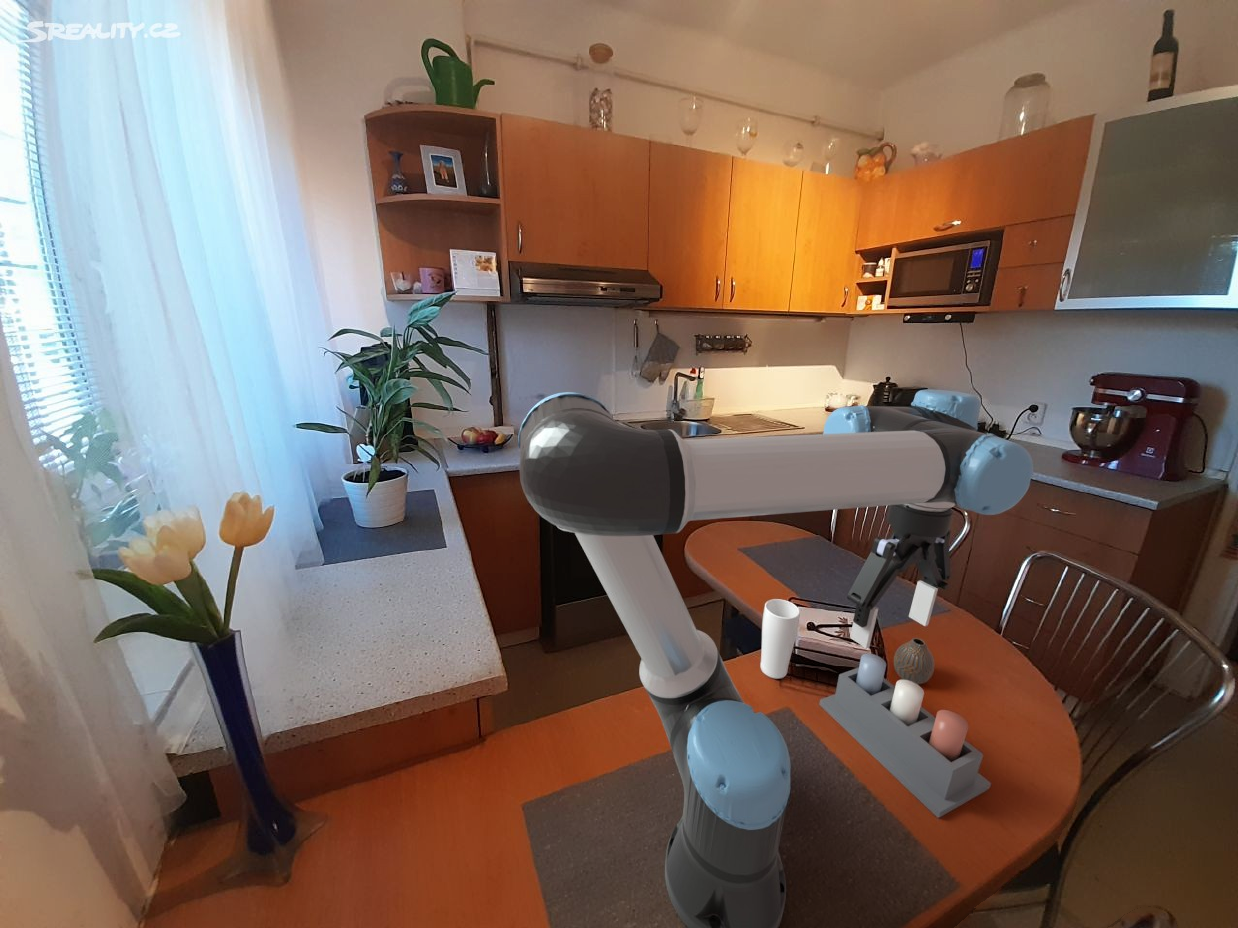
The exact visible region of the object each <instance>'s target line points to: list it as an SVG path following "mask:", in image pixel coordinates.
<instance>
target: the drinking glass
mask: <svg viewBox="0 0 1238 928" xmlns="http://www.w3.org/2000/svg"><path fill="white" fill-rule="evenodd" d="M800 614H801V610H800V608H799V607H798V605H796V604H794V603H792V602H791V601H788V600H785V599H779V598H773V599H769V600H767V601H766V602H765V603H764V608H763V614H762V621H761V651H760V652H761V654H760V655H761V656H760V664H759V665H760V666H759V667H760V670H761V672H762V673H763V674H764V675H765V676H767V677H769V678H771V679H776V680H778V679H780V680H781V679H783V678H784V677H785V676H787V674H788V669H789V664H790V660H791V656H792V653H793V649H794V646H795V642H796V639H797V634H798V630H799V624H800Z"/></svg>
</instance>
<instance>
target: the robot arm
mask: <svg viewBox="0 0 1238 928" xmlns="http://www.w3.org/2000/svg"><path fill="white" fill-rule="evenodd" d="M981 406H982V402H981V400H980V398H978V396H976V395H974V394H972V393H966V392H961V391H956V390H955V391H954V390H948V389H947V390H944V389H932V388H931V389H930V388H929V389H921V390H918V391H917V392H916V393H915V395H914V399H913V401H912V402H911V403H910V405H909V406H886V405H885V406H880V405H879V406H878V405H876V406H875V405H873V406H872V405H864V404H858V405H854V406H853V405H851V406H842V407H838V408H837V409H835V410H833V411H832V412H831V413H830V414H829V416H828V417H827V418H826V420H825V422H824V426H823V428H824V429H823V433H822V434H821V433H820V434H817V433H816V434H797V435H795V434H793V435H792V434H791V435H769V436H745V437H743V436H741V437H720V438H716V437H715V438H699V439H698V438H697V439H696V438H695V439H683V438H682V437H681V436H680V435H679V434H678V433H677V432H676V431H675V430H674V429H642V428H634V427H631V426H627V425H622V424H619V423H618V422H617V421H616V419H614V418H613V416H612V414H611V413H610V411H609V410H608V409H607V408H606V406H605V405H604V404H603V403H602V402H600V401H599V400H598V399H596V398H594V397H592V396H590V395H588V394H587V395H586V394H584V393H580V392H579V393H578V392H574V391H566V392H558V393H554V394H551V395H549V396H546V397H544V398H543V399H541V400H540V401H539V402H537V403H536V404H535V405H534V406H533V407H532V408H531V409H530V410H529V411H528V413H527V415H526V417H524V419H523V421H522V423H521V425H520V427H519V432H518V436H517V438H518V439H517V442H518V443H517V444H518V451H519V454H520V455H519V457H520V458H519V479H520V484H521V488H522V491H523V494H524V495H525V498H526V499H527V502H528V503H529V504H530V505H531V507H532V508H533V509H534V511H535V512H536V513H537V514H538V515H539V516H540V517H541V518H543V519H544V520H546V521H547V522H548V523H550V524H552V525H553V526H556V527H557V528H558V530H561V531H563V532H569V533H573V534H574V535H575V536H576V538H577V541H578V543H579V544H580V546H581V547H582V550H583V551H584V553H585V555H586V557H587V559H588V561H589V563H590V565H591V566H592V569H593V570H594V572H595V574H596V576H597V578H598V580H599V582H600V583H601V585H602V587H603V589H604V591H605V592H606V595H607V597H608V598H609V600H610V602H611V604H612V606H613V608H614V610H615V611H616V614H617V615H618V617H619V619H620V621H621V623H622V624H623V626H624V628H625V630H626V633H627V634H628V635H629V638H630V639H631V641H632V644H633V645H634V647H635V650H636V651H637V653H638V655H639V656H640V658H641V660H640V664H639V668H638V669H639V670H638V671H639V673H638V674H639V678H640V679H639V680H640V681H641V683H642V686H643V687H644V690H645V691H646V693H647V694H648V697H649V698H650V700H651V702H652V705H654V707H655V710H656V712H657V714H658V716H659V718H660V720H661V724H662V726H663V729H664V732H665V733H666V737H667V740H668V743H669V746H670V749H671V752H672V755H673V757H674V761H675V764H676V767H677V769H678V773H679V775H680V778H681V781H682V785H683V790H684V791H683V792H684V795H683V796H684V797H683V798H684V799H683V811H682V816H681V818H680V819H679V821H678V823H677V824H676V826H675V828H674V829H673V831H672V832H671V835H670V837H669V839H668V843H667V847H666V852H665V859H664V860H665V861H664V879H665V886H666V890H667V893H668V897H669V899H670V902H671V904H672V906H673V908H674V910H675V912H676V914H677V915H678V917H679V919H680V920H681V921H682V923H683V924H684V926H685V927H687V928H779V926H780V924H781V921H782V918H783V913H784V911H785V910H784V909H785V906H786V905H785V904H786V897H787V881H786V874H785V870H784V867H783V862H782V859H781V855H780V851H779V846H780V840H781V835H782V831H783V830H782V829H783V825H784V820H785V815H786V811H787V810H786V809H787V804H788V800H789V798H790V793H791V787H792V786H791V781H792V780H791V758H790V754H789V753H790V752H789V749H788V745H787V743H786V741H785V739H784V737H783V735H782V733H781V732H780V731H781V730H779V728H778V727H777V726H776V725H775V724H774V722H773V721H772V720H771V719H770V718H769V717H768V716H767V715H766V714H765V713H763V712H761V711H759V712H756V711H754V708H753V706H751V705H749V704H747V703H745V701H744V700H743V698H742V695H740V693H739V691H738V689H737V687H736V686H735V684H734V681H732V678H731V676H730V674H729V672H728V670H727V668H726V665H725V663H724V661H723V659H722V657H721V655H720V652H719V650H718V648H717V646H716V645H717V644H716V643H715V641H714V640H713V639H712V637H710V635H708V634H707V633H705V632H704V631H701V630H699V629H697V628H696V625H695V623H694V621H693V619H692V617H691V615H690V613H689V610H688V608H687V606H686V604H685V602H684V599H683V597H682V595H681V593H680V591H679V588H678V586H677V584H676V582H675V580H674V578H673V576H672V573H671V572H670V569H669V567H668V565H667V563H666V561H665V558H664V556H663V554H662V552H661V550H660V548H659V546H658V544H657V541H656V539H655V537H654V536H656V535H658V536H659V535H669V534H679V533H680V532H681V531H682V530H683V528H684V527H685V526H686V525H687V524H688V522H690V521H704V520H717V519H729V518H742V517H757V516H767V515H781V514H782V515H783V514H794V513H806V512H818V511H819V512H820V511H831V510H832V511H833V510H847V509H859V508H871V507H872V508H873V507H882V506H883V507H885V506H889V507H888V511H887V515H886V521H887V522H888V524H889V525H890V526H891V529H892V532H891V535H890V536H889V538H888V539H884V538H882V537H880V536H877V537H875V538H874V540H873V543H872V547H871V550H870V553H869V555H868V556H867V558H866V560H865V562H864V564H863V565H862V567H861V569H860V571H859V573H858V575H857V576H856V579H855V580H854V582H853V583H852V586H851V587H850V589H849V592H848V593H847V595H846V599H847V600H848V601H850V602H851V603H853V604H854V605H855V611H854V616H853V621H852V627H851V632H850V636H849V638H850V639H852V640H853V641H854V642H856V643H858V644H859V645H860V646H861V647H863V648H864V649H869V648H870V646H871V642H872V638H873V633H874V629H875V625H876V620H877V617H878V611H879V607H877V606H876V605H877V604H878V603H879V602H880V600H881V599H882V597H883V596H884V594H885V593H886V592H887V590H888V589H889V588H890V586H891V585H892V584H893V583H894V581H895V580H896V578H898V575H899V574H900V573H905V572H906V571H907V569H908V568H909V567H910V566H912V565H914V564H915V565H916V567H917V569H918V571H919V573H920V576H921V579H922V580H921V579H920V580H917V584H916V586H915V590H914V595H913V598H912V603H911V606H910V610H909V614H908V617H909V618H910V619H912V620H913V621H915V622H917V623H919V624H920V625H922V626H924V627H927V626H928V625H929V623H930V620H931V615H932V612H933V608H934V604H935V601H936V597H937V594H938V590H939V589H941V590H943V591H945V590H946V589H947V587H948V586H949V585H948V583H947V582H949V581H950V580H951V578H952V577H951V576H952V573H951V560H950V559H951V556H950V544H949V542H950V538H951V534H952V533H951V532H952V531H951V530H950V526H951V523H952V519H953V515H954V511H953V510H952V508H953V507H955V505H957V507H959V508H961V509H963V510H966V511H971V512H974V513H976V514H980V515H985V516H994V515H999V514H1002V513H1004V512H1006V511H1008V510H1010V509H1012V508H1013V507H1015V506H1016V505H1017V504H1018V503H1019V502H1020V501H1021V500H1022V498H1024V496H1025V495H1026V493H1027V492H1028V491H1029V488H1030V486H1031V480H1032V476H1033V475H1034V462H1033V459H1032V457H1031V454H1030V453H1029V451H1028V450H1027V449H1026V448H1025V447H1023V446H1022V445H1021V444H1019V443H1018V442H1017V443H1016V442H1013V441H1010V440H1008V439H1005V438H1002V437H999V436H997V435H996V434H994V433H984V432H980V431H978V423H979V418H980V417H979V416H980V412H981Z"/></svg>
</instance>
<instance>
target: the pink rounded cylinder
mask: <svg viewBox="0 0 1238 928" xmlns="http://www.w3.org/2000/svg"><path fill="white" fill-rule="evenodd" d="M935 718H936V719H935V723H934V726H933V730H932V733H931V737H930V741H929V745H931V746H932V747H933V748H934V749H935V750H937V751H938V752H939V753H940V754H942V755H943V756H944V757H945V758H946V759H948V760H949V761H950V762H953V761H955V760H957V759H959V756H960V753H961V749H962V746H963V743H964V740H965V738H966V735H967V733H968V730H969V724H968V722H967V720H966V719H964V717H962V715H960V714H958V713H956V712H954V711H951V710H947V709H940V710H938V711H937V712H936V717H935ZM965 741H966V740H965Z"/></svg>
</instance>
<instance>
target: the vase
mask: <svg viewBox="0 0 1238 928" xmlns="http://www.w3.org/2000/svg"><path fill="white" fill-rule="evenodd" d="M893 666H894V670H895V672H896V674H897V676H899V677H900V679H901V680H909V681H912V682H914V683H916V684H917V685H922V684H925V683H927V682H928V681H929V680H930V679H931V677H932V676H933V674H934V671H935V660H934V657H933V654H932V653H931V651H930V649H929V648H928V645H927V643H926V642H925V640H923V639H922V638H919V637H913V638H912V639H910V640H908V641H907V642H905V643H903V644H900V646H899V647H898V648H897V649H896V650H895V653H894V656H893Z"/></svg>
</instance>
